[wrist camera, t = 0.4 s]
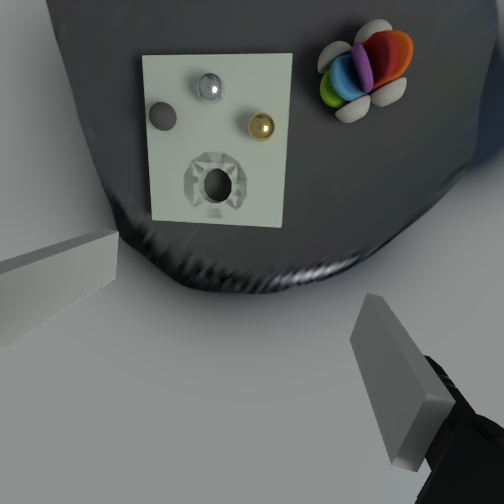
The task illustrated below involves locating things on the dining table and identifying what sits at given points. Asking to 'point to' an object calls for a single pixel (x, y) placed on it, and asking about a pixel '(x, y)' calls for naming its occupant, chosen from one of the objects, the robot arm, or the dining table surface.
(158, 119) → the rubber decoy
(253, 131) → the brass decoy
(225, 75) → the pale green flat slab
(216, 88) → the steel ball
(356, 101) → the rainbow disc rolling toy
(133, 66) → the dining table surface
